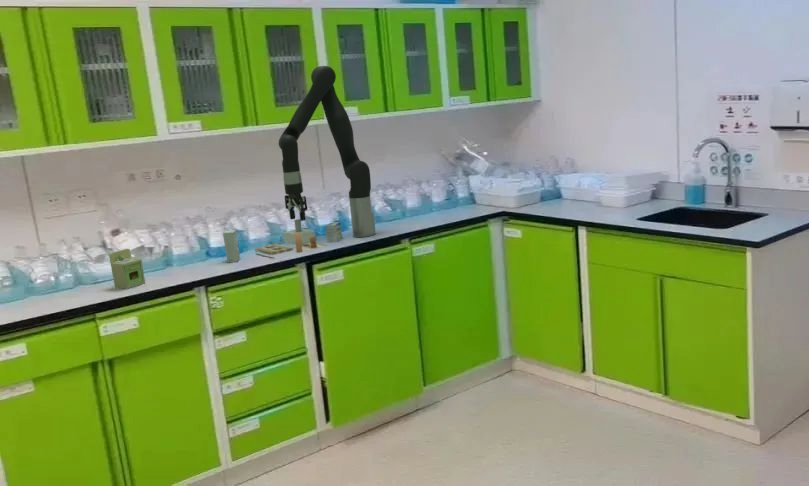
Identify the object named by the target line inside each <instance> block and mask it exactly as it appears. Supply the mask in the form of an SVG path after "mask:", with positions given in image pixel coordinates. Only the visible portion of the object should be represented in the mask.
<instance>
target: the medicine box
mask: <svg viewBox="0 0 809 486" xmlns="http://www.w3.org/2000/svg"><path fill="white" fill-rule="evenodd" d="M325 233H326V240H327V242H326V243H338V242H339V241H340V240H342V239H343V235H342V224H341V221H333V222H330V223H328V224H327V225H325Z"/></svg>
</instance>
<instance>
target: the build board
mask: <svg viewBox="0 0 809 486" xmlns="http://www.w3.org/2000/svg"><path fill="white" fill-rule="evenodd" d="M254 251H255V252H256V253H255V255H256V256H260V257H265V258H268V259H274V257H272V256H273V255H278V254H282V253H287V252H292V251H294V247H293V246H287V245H283V244H278V243H275V244H270V245H265V246H260V247H256V248H254ZM257 252H258V253H257ZM260 253H262V254H260ZM264 254H266V255H264ZM269 255H270V256H269Z"/></svg>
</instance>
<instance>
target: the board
mask: <svg viewBox="0 0 809 486" xmlns="http://www.w3.org/2000/svg"><path fill="white" fill-rule="evenodd" d="M324 247H328V244H323V243H317V238H316V236H315V237H310V242H309V243H305V244H302V250H303V251H310V250H316V249H319V248H320V249H321V248H324ZM294 248H295V249H296V245H294V246H293V249H294Z"/></svg>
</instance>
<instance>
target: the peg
mask: <svg viewBox="0 0 809 486" xmlns="http://www.w3.org/2000/svg"><path fill="white" fill-rule="evenodd" d="M295 242H296V245H295V246H296V248H295V249H296V253H302V252H303V251H304V250H303V249H302V245H303V244H302V241H301V233H295Z"/></svg>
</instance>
